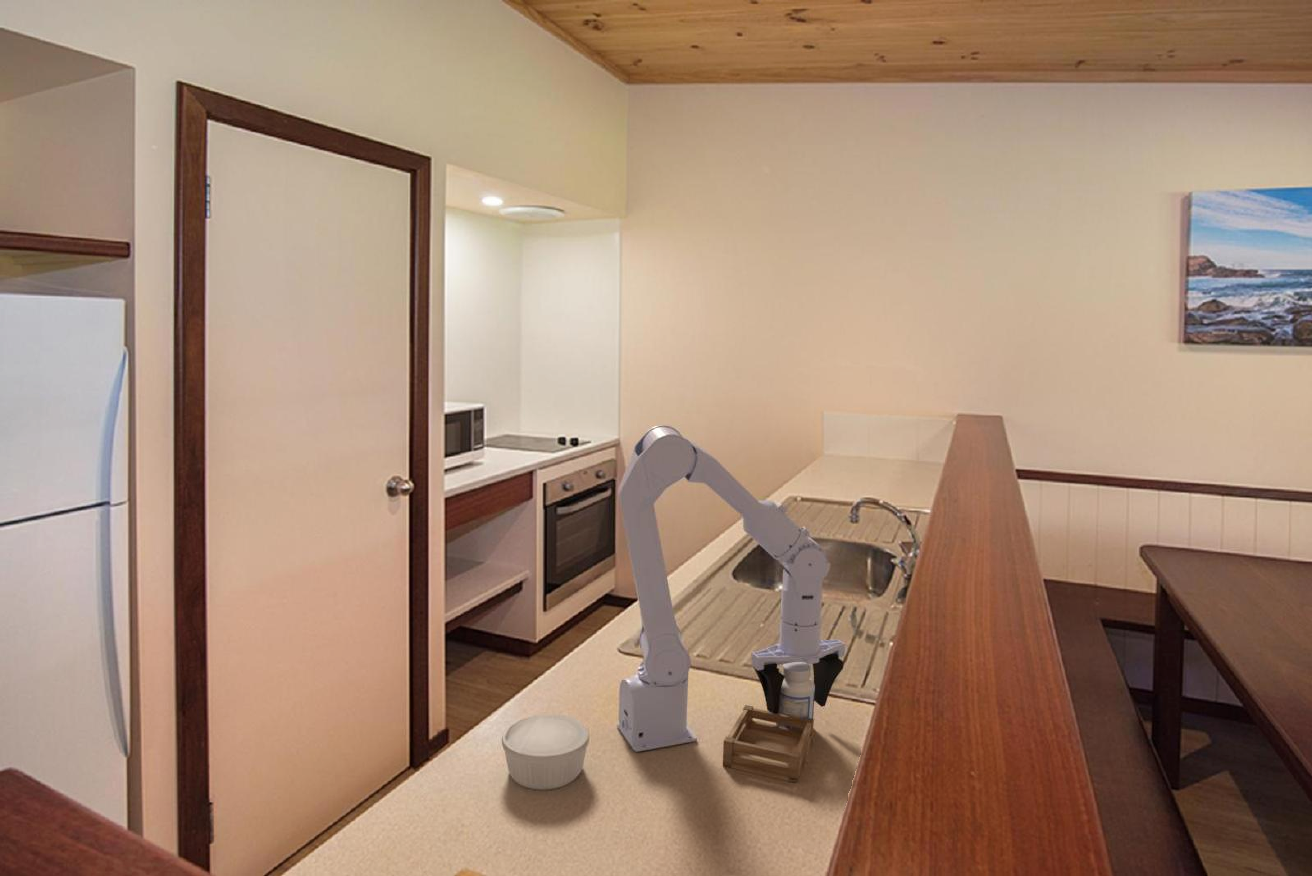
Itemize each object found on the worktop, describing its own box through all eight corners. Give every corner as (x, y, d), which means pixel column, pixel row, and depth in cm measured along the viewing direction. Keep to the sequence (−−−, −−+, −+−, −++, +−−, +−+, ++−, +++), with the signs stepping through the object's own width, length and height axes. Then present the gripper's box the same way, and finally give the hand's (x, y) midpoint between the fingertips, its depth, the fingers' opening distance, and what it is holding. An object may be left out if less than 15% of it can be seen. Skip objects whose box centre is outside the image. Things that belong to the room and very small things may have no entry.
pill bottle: (787, 715, 123) (790, 654, 121) (819, 727, 119) (823, 665, 118) (768, 729, 118) (771, 666, 117) (800, 742, 115) (804, 677, 114)
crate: (796, 783, 105) (798, 757, 104) (722, 765, 108) (723, 740, 108) (812, 742, 115) (813, 718, 114) (744, 728, 119) (745, 704, 118)
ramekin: (493, 758, 109) (493, 721, 108) (572, 742, 113) (573, 707, 113) (514, 804, 99) (514, 764, 98) (600, 785, 103) (600, 746, 103)
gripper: (770, 636, 110) (766, 729, 112) (859, 622, 115) (854, 712, 117) (745, 617, 116) (742, 706, 119) (831, 606, 122) (826, 690, 124)
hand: (796, 707), depth 118 cm, fingers open, 7 cm apart
